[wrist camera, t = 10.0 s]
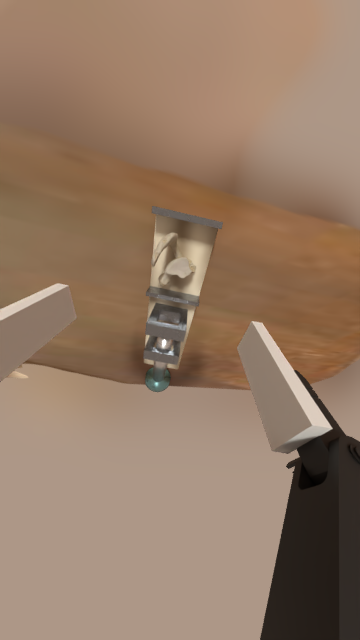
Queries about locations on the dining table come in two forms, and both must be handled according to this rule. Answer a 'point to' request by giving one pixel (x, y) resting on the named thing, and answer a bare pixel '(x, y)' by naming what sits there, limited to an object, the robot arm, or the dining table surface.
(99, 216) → the dining table surface
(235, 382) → the dining table surface
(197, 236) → the board
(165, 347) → the shaft
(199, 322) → the dining table surface
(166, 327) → the grey angular blocks
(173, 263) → the bone
